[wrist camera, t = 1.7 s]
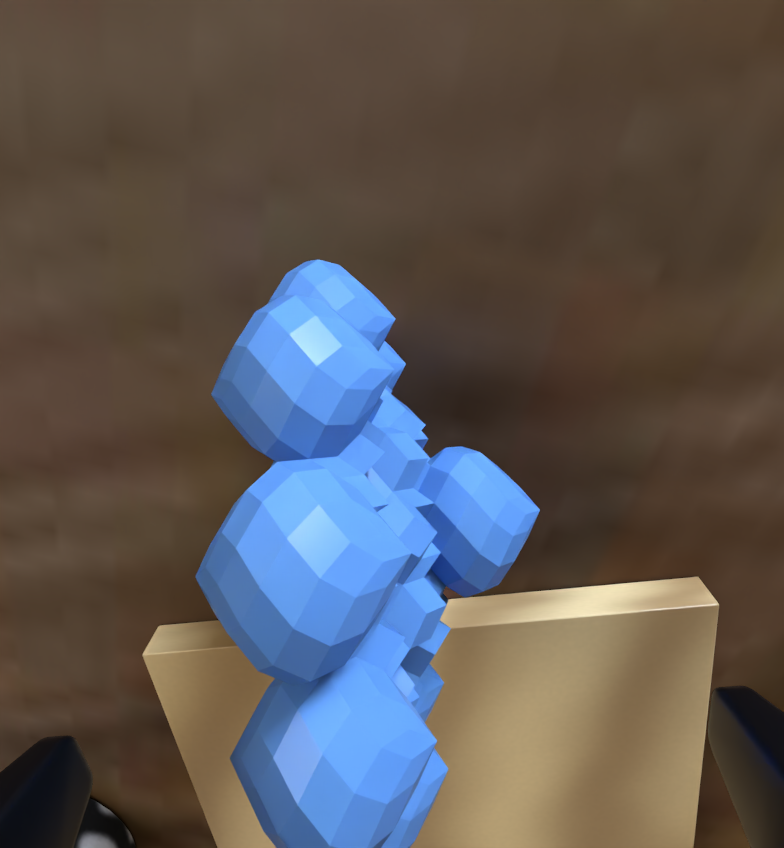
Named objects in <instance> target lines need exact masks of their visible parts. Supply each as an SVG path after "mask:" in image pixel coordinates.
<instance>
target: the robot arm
mask: <svg viewBox="0 0 784 848" xmlns="http://www.w3.org/2000/svg"><path fill="white" fill-rule="evenodd" d="M708 738H709V743H710V746H711V749H712V752H713V755H714V757H715V760H716V762H717V765H718V767H719V770H720V772H721V775H722V777H723V780H724V782H725V785H726V787H727V789H728V792H729V794H730V797H731V799H732V802H733V804H734V807H735V809H736V812H737V814H738V817H739V819H740V822H741V824H742V827H743V829H744V832H745V834H746V837H747V839H748V842H749V844H750V847H751V848H784V712H782V711H781V710H780V709H778V708H777V707H776V706H774V705H773V704H772V703H770V702H769V701H767V700H766V699H765V698H763V697H762V696H761V695H759V694H758V693H757V692H755V691H754V690H752V689H750V688H748V687H746V686H730V687H718V688H716V689H715V690H714V691H713V692H712V696H711V706H710V715H709V724H708ZM92 785H93V776H92V771H91V769H90V767H89V765H88V763H87V761H86V759H85V757H84V754H83V752H82V750H81V748H80V746H79V744H78V742H77V740H76V739H75V738H74V737H72V736H55V737H47V738H44V739H41V740H40V741H38V742H37V743H36V744H34V745H33V746H32V747H31V748H29V749H28V750H27V751H26V752H25V753H23V754H22V755H21V756H20V757H19V758H17V759H16V760H15V761H14V762H13V763H11V764H10V765H9V766H8V767H6V768H5V769H4V770H3V771H2V772H0V848H73V846H74V843H75V840H76V837H77V834H78V831H79V828H80V825H81V822H82V819H83V816H84V813H85V810H86V806H87V803H88V800H89V797H90V794H91V790H92Z"/></svg>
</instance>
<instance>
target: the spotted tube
mask: <svg viewBox="0 0 784 848" xmlns="http://www.w3.org/2000/svg"><path fill="white" fill-rule="evenodd" d="M73 848H135V843H134V840H133V838H132V836H131V834H130V832H129V830H128V829H127V828H126V826H125V825H124V824H123V822H122V821H121V820H120V819H119V818H118V817H117V816H115V815H114V814H113V813H112V812H111V811H110V810H108V809H107V808H105V807H104V806H102V805H101V804H99V803H98V802H96V801H95V800H93V799H90V798H89V800H88V803H87V806H86V810H85V813H84V816H83V819H82V822H81V825H80V828H79V831H78V834H77V837H76V840H75V843H74V846H73Z"/></svg>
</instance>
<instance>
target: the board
mask: <svg viewBox="0 0 784 848" xmlns="http://www.w3.org/2000/svg"><path fill="white" fill-rule="evenodd" d="M448 600H449V601H448V603H447V605H446V608H445V610H444V612H443V614H442V616H441V618H440V621H442V622H443V623H444V624H446V625H447V626H448V627H450V628H451V629H450V631H449V633H448V634H447V636H446V638H445V639H444V641H443V643H442V644H441V646H440V648H439V649H438V651H437V653H436V654H435V656H434V657H433V659H432V660H431V662H430V664H431V665H432V667H433V668H434V670H435V671H436V672H437V674H438V675H439V676H440V678H441V679H442V680H443V682H444V685H443V687H442V689H441V691H440V693H439V696H438V698H437V700H436V702H435V704H434V707H433V709H432V711H431V713H430V714H429V716H428V718H427V720H426V721H425V724H426V725H427V727H428V728H429V730H430V731H431V733H432V734H433V735H434V737H435V738H436V740H437V743H436V745H435V747H434V748H435V750H436V751H437V753H438V754H439V756H440V757H441V759H442V760H443V761H444V763H445V764H446V766H447V767H448V772H447V774H446V776H445V779H444V781H443V783H442V785H441V788H440V790H439V792H438V795H437V797H436V799H435V802H434V804H433V806H432V808H431V810H430V812H429V814H428V816H427V818H426V820H425V822H424V824H423V826H422V828H421V830H420V832H419V834H418V836H417V838H416V840H415V842H414V843H413V844H412V846H411V847H410V848H693V847H694V837H695V828H696V818H697V809H698V799H699V790H700V781H701V771H702V762H703V752H704V743H705V734H706V724H707V715H708V705H709V696H710V687H711V677H712V668H713V658H714V649H715V640H716V630H717V621H718V611H719V604H718V602H717V601H716V600H715V598H714V597H713V596H712V594H711V593H710V592H709V590H708V589H707V588H706V586H705V585H704V584H703V582H702V581H701V580H700V579H699V577H689V578H678V579H667V580H656V581H645V582H634V583H623V584H612V585H601V586H590V587H579V588H568V589H557V590H546V591H535V592H524V593H513V594H502V595H491V596H480V597H469V598H458V599H448ZM143 658H144V661H145V663H146V666H147V668H148V671H149V673H150V676H151V679H152V681H153V684H154V686H155V689H156V691H157V694H158V696H159V699H160V702H161V704H162V707H163V709H164V712H165V714H166V717H167V720H168V722H169V725H170V727H171V730H172V732H173V735H174V738H175V740H176V743H177V745H178V748H179V750H180V753H181V755H182V758H183V761H184V763H185V766H186V768H187V771H188V773H189V776H190V779H191V781H192V784H193V786H194V789H195V791H196V794H197V796H198V799H199V802H200V804H201V807H202V809H203V812H204V814H205V817H206V820H207V822H208V825H209V827H210V830H211V832H212V835H213V837H214V840H215V843H216V845H217V848H276V847H275V845H274V844H273V843H272V841H271V840H270V839H269V838H268V836H267V835H266V834H265V833H264V831H263V829H262V827H261V825H260V823H259V821H258V819H257V816H256V814H255V812H254V810H253V808H252V806H251V803H250V801H249V799H248V797H247V795H246V793H245V791H244V788H243V786H242V784H241V782H240V780H239V778H238V775H237V773H236V771H235V769H234V767H233V765H232V762H231V760H230V756H231V754H232V752H233V751H234V749H235V747H236V745H237V743H238V741H239V739H240V737H241V735H242V734H243V732H244V730H245V728H246V726H247V724H248V722H249V720H250V718H251V717H252V715H253V713H254V711H255V709H256V708H257V706H258V704H259V702H260V700H261V698H262V697H263V695H264V693H265V691H266V689H267V688H268V687H269V685H270V684H271V683H272V682H273V680H274V679H275V678H274V677H271V676H269V675H266V674H264V673H262V672H259V671H257V669H256V668H255V667H254V666H253V664H252V663H251V662H250V661H249V659H248V658H247V657H246V656H245V655H244V653H243V652H242V651H241V650H240V648H239V647H238V646H237V645H236V643H235V642H234V641H233V640H232V639H231V637H230V636H229V635H228V634H227V632H226V631H225V629H224V627H223V626H222V624H221V623H220V621H219V620H215V621H204V622H193V623H182V624H171V625H160V626H158V628H157V630H156V632H155V633H154V635H153V637H152V639H151V640H150V642H149V644H148V646H147V647H146V649H145V651H144V653H143Z"/></svg>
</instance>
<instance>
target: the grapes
mask: <svg viewBox="0 0 784 848" xmlns="http://www.w3.org/2000/svg"><path fill="white" fill-rule="evenodd" d="M394 321H395V318H394V317H393V316H392V314H391V313H390V312H389V311H388V310H387V309H386V308H385V307H384V305H383V304H382V303H381V302H380V301H379V300H378V299H377V297H375V296H374V295H373V294H372V293H371V292H370V291H369V290H368V289H366V288H365V287H364V286H363V285H362V284H361V283H360V282H359V281H357V280H356V279H355V278H354V277H353V276H352V275H350V274H349V273H348V272H347V271H346V270H345V269H343V268H342V267H341V266H340V265H338V264H334V263H330V262H326V261H322V260H312V261H306V262H304V263H303V264H301V265H299V266H298V267H296V268H294V269H293V270H291V271H289V272H288V273H287V274H286V275H285V277H284V278H283V280H282V281H281V283H280V285H279V286H278V288H277V289H276V291H275V292H274V294H273V296H272V297H271V299H270V301H269V302H268V304H267V305H266V306H264V307H263V308H261V309H259V310H258V311H256V312H255V313H254V315H253V316H252V318H251V319H250V321H249V323H248V324H247V326H246V327H245V329H244V330H243V332H242V334H241V335H240V337H239V338H238V340H237V341H236V343H235V345H234V346H233V348H232V350H231V352H230V354H229V356H228V357H227V359H226V361H225V363H224V365H223V368H222V370H221V372H220V375H219V377H218V379H217V382H216V384H215V386H214V389H213V391H212V394H211V395H212V397H213V398H214V400H215V401H216V402H217V404H218V405H219V407H220V408H221V409H222V411H223V412H224V414H225V415H226V416H227V418H228V419H229V420H230V421H231V422H232V424H233V425H234V426H235V427H236V428H237V430H238V431H239V432H240V433H241V434H242V436H243V437H244V438H245V439H246V440H247V441H248V443H249V444H250V445H251V446H252V447H253V448H255V449H257V450H258V451H260V452H261V453H263V454H264V455H266V456H268V457H269V458H271V459H272V460H274V462H273V464H272V466H271V468H270V469H269V470H268V471H267V472H266V473H265V474H263V475H262V476H261V477H260V478H259V479H258V480H257V481H256V482H255V483H254V484H252V485H251V486H250V487H249V488H248V489H247V490H246V491H245V492H244V493H243V494H242V496H241V497H240V498H239V499H238V500H237V501H236V502H235V504H234V505H233V507H232V509H231V510H230V512H229V514H228V515H227V517H226V519H225V520H224V522H223V524H222V525H221V527H220V529H219V531H218V532H217V534H216V536H215V537H214V539H213V541H212V542H211V544H210V546H209V548H208V551H207V553H206V555H205V557H204V559H203V561H202V563H201V566H200V568H199V570H198V572H197V574H196V576H195V577H196V579H197V581H198V583H199V585H200V587H201V589H202V591H203V593H204V595H205V596H206V598H207V600H208V602H209V604H210V606H211V608H212V610H213V612H214V613H215V615H216V616H217V618H218V620H219V621H220V623H221V624H222V626H223V627H224V629H225V631H226V632H227V634H228V635H229V636H230V637H231V639H232V640H233V641H234V642H235V643H236V645H237V646H238V647H239V648H240V650H241V651H242V652H243V653H244V655H245V656H246V657H247V658H248V659H249V661H250V662H251V663H252V664H253V666H254V667H255V668H256V669H257V671H259V672H262V673H264V674H266V675H269V676H271V677H274V678H275V679H274V680H273V682H272V683H271V684H270V685H269V687H268V688H267V689H266V691H265V693H264V695H263V697H262V698H261V700H260V702H259V704H258V706H257V708H256V709H255V711H254V713H253V715H252V717H251V718H250V720H249V722H248V724H247V726H246V728H245V730H244V732H243V734H242V735H241V737H240V739H239V741H238V743H237V745H236V747H235V749H234V751H233V752H232V754H231V756H230V760H231V762H232V765H233V767H234V769H235V771H236V773H237V775H238V778H239V780H240V782H241V784H242V786H243V788H244V791H245V793H246V795H247V797H248V799H249V801H250V803H251V806H252V808H253V810H254V812H255V814H256V816H257V819H258V821H259V823H260V825H261V827H262V829H263V831H264V833H265V834H266V835H267V836H268V838H269V839H270V840H271V841H272V843H273V844H274V845H275V847H276V848H410V847H411V846H412V844H413V843H414V842H415V840H416V838H417V836H418V834H419V832H420V830H421V828H422V826H423V824H424V822H425V820H426V818H427V816H428V814H429V812H430V810H431V808H432V806H433V804H434V802H435V799H436V797H437V795H438V792H439V790H440V788H441V785H442V783H443V781H444V779H445V776H446V774H447V772H448V767H447V766H446V764H445V763H444V761H443V760H442V759H441V757H440V756H439V754H438V753H437V751H436V750H435V748H434V747H435V745H436V743H437V740H436V738H435V737H434V735H433V734H432V733H431V731H430V730H429V728H428V727H427V725H426V724H425V721H426V720H427V718H428V716H429V714H430V713H431V711H432V709H433V707H434V704H435V702H436V700H437V698H438V696H439V693H440V691H441V689H442V687H443V685H444V682H443V680H442V679H441V678H440V676H439V675H438V674H437V672H436V671H435V670H434V668H433V667H432V665H431V664H430V662H431V660H432V659H433V657H434V656H435V654H436V653H437V651H438V649H439V648H440V646H441V644H442V643H443V641H444V639H445V638H446V636H447V634H448V633H449V631H450V629H451V628H450V627H448V626H447V625H446V624H444V623H443V622H442V621H440V618H441V616H442V614H443V612H444V610H445V608H446V605H447V603H448V601H449V600H448V599H447V598H446V596H445V595H444V594H443V591H444V589H445V587H446V586H447V587H448V588H450V589H452V590H453V591H455V592H456V593H458V594H460V595H461V596H463V597H465V598H466V597H469V596H472V595H475V594H477V593H480V592H483V591H485V590H488V589H490V588H492V587H494V586H497V585H499V584H500V582H501V581H502V579H503V578H504V576H505V575H506V573H507V572H508V570H509V569H510V567H511V566H512V564H513V563H514V561H515V560H516V558H517V556H518V554H519V553H520V551H521V549H522V547H523V545H524V544H525V542H526V540H527V538H528V536H529V534H530V532H531V529H532V527H533V525H534V523H535V520H536V518H537V516H538V514H539V511H540V509H539V508H538V507H537V506H536V505H535V504H534V503H533V501H532V500H531V499H530V498H529V497H528V496H527V495H526V493H525V492H524V491H523V490H522V489H521V488H520V487H519V486H518V485H517V484H516V483H515V482H514V481H513V480H512V479H511V478H510V477H509V476H508V475H507V474H506V473H504V472H503V471H502V470H501V469H500V468H499V467H498V466H497V465H496V464H494V463H493V462H492V461H491V460H489V459H488V458H487V457H486V456H484V455H483V454H482V453H481V452H478V451H475V450H472V449H469V448H465V447H462V446H459V447H448V448H445V449H443V450H442V451H440V452H439V453H438V454H436V455H435V456H433V457H432V458H429V456H428V455H427V454H426V453H425V452H424V451H423V448H424V446H425V444H426V443H427V441H428V438H427V437H426V435H425V434H424V433H423V432H422V431H421V430H422V429H423V428H424V426H425V424H424V423H423V422H422V421H421V420H420V419H419V418H418V417H417V416H416V415H415V414H414V413H413V412H412V411H411V410H410V409H409V408H408V407H407V406H406V405H404V404H403V403H402V402H401V401H399V400H398V399H397V398H395V397H394V396H393V395H392V394H391V393H392V390H393V388H394V386H395V384H396V382H397V380H398V378H399V377H400V375H401V373H402V371H403V369H404V367H405V365H406V363H405V362H404V361H403V360H402V359H401V358H400V357H399V355H398V354H397V353H396V352H395V351H394V350H393V349H392V347H391V346H390V345H389V344H387V343H386V342H385V339H386V337H387V335H388V333H389V331H390V329H391V327H392V325H393V323H394Z"/></svg>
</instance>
